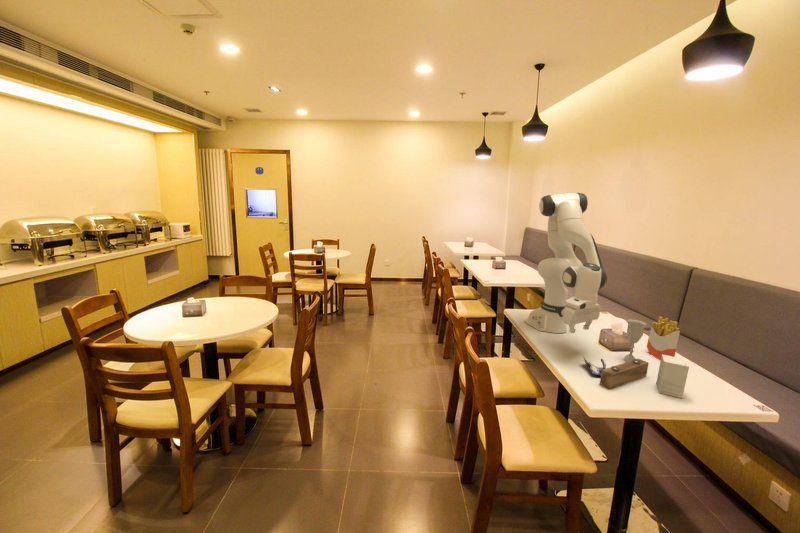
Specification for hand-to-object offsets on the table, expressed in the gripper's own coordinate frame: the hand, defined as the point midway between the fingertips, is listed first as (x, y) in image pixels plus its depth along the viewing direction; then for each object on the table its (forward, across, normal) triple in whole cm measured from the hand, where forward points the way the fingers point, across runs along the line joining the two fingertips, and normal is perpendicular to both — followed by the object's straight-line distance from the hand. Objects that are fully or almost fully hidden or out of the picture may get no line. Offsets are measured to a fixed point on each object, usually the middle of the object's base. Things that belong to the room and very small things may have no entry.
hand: (578, 330), depth 155 cm
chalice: (+12, -19, +13) cm, 26 cm away
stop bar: (+11, +1, +22) cm, 25 cm away
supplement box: (+11, -7, +34) cm, 37 cm away
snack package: (+12, +4, +13) cm, 19 cm away
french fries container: (+12, -37, +17) cm, 42 cm away
